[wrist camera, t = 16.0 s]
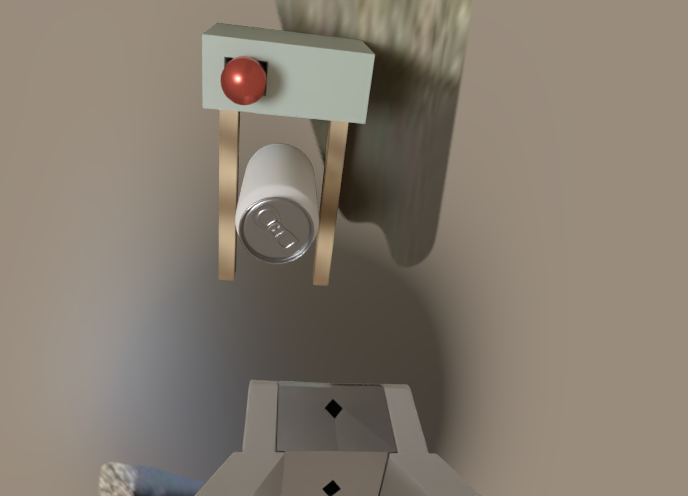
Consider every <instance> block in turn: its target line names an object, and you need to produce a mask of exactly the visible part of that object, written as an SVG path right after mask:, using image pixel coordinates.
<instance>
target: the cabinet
mask: <svg viewBox="0 0 688 496" xmlns="http://www.w3.org/2000/svg"><path fill="white" fill-rule="evenodd" d="M239 56H248V57H251V58H253V59H255V60H258V61H262V67H263V68H264V70H265V73H266V78H267V81H266V87H265V91H264V94H263V95H262V97H261V98H260V99H259V100H258V101H257V102H255V103H253V104H250V105H239V104H236V103H234V102H232V101H231V100H229V99H228V98H227V97H226V95H225V94H224V92H223V90H222V87H221V81H220V80H221V74H222V71H223V69H224V68H225V66H226V65H227V64H228V62H229V61H230V60H232V59H233V58H235V57H239ZM374 58H375V54H374V53H373V52H372V51H371V50H370V49H369V47H368V46H367V45H366V44H365V43H364V42H363V41H362V40H355V39H347V38H339V37H330V36H322V35H314V34H306V33H297V32H289V31H281V30H273V29H264V28H255V27H248V26H239V25H231V24H223V23H216V24H215V25H214V26H212V27H211V28H210V29H208V30H207V31H206V32H204V33H203V34H202V76H203V77H202V80H203V108H210V109H219V110H230V111H240V112H250V113H260V114H270V115H281V116H291V117H302V118H311V119H321V120H331V121H341V122H351V123H361V124H365V121H366V114H367V107H368V100H369V93H370V86H371V79H372V72H373V65H374Z"/></svg>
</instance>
